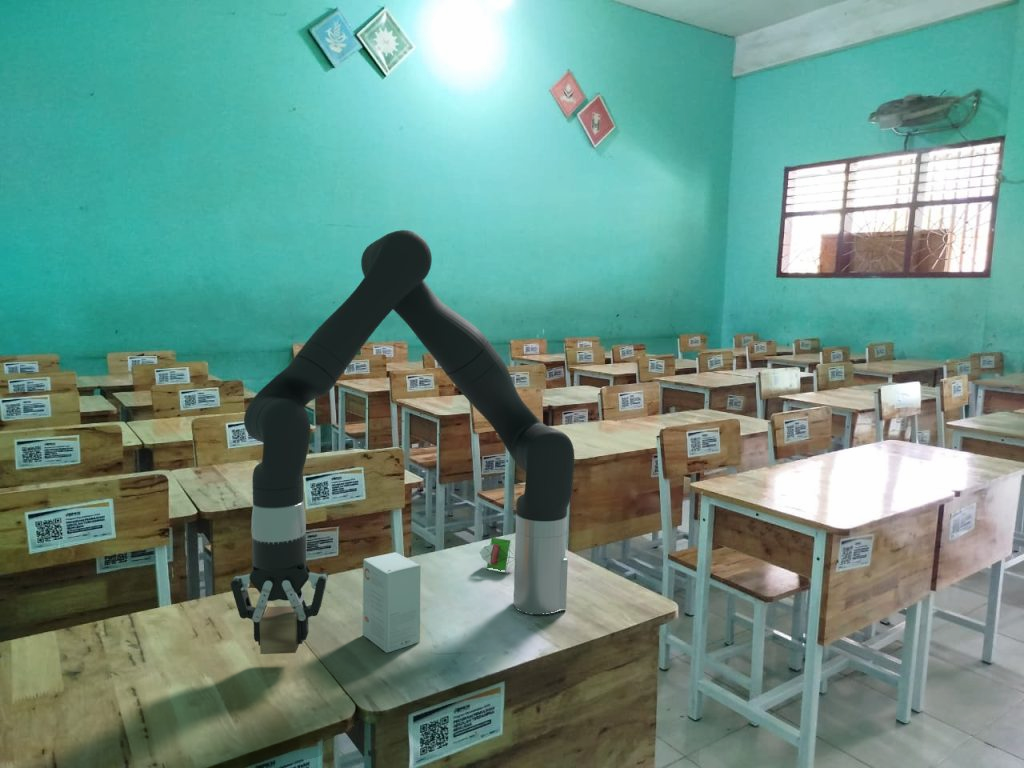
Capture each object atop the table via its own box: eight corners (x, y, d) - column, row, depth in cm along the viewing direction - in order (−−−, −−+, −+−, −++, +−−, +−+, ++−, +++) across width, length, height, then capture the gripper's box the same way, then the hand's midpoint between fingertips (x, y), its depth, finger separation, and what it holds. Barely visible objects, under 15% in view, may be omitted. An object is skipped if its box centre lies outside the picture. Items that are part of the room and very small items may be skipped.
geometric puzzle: (494, 549, 153) (484, 527, 148) (523, 554, 150) (515, 531, 145) (482, 578, 148) (472, 555, 143) (512, 583, 146) (503, 561, 141)
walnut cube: (302, 637, 108) (301, 605, 108) (295, 652, 103) (295, 620, 103) (268, 638, 108) (267, 606, 107) (260, 654, 103) (259, 621, 102)
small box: (420, 642, 114) (421, 565, 113) (386, 654, 110) (386, 573, 109) (395, 625, 121) (396, 550, 119) (361, 635, 117) (361, 558, 115)
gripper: (332, 523, 108) (334, 629, 110) (235, 524, 107) (238, 632, 108) (325, 539, 101) (326, 652, 103) (220, 541, 99) (224, 656, 101)
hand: (281, 641), depth 105 cm, fingers closed on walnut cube, 5 cm apart
